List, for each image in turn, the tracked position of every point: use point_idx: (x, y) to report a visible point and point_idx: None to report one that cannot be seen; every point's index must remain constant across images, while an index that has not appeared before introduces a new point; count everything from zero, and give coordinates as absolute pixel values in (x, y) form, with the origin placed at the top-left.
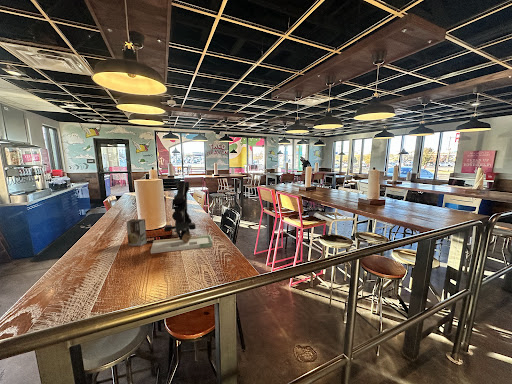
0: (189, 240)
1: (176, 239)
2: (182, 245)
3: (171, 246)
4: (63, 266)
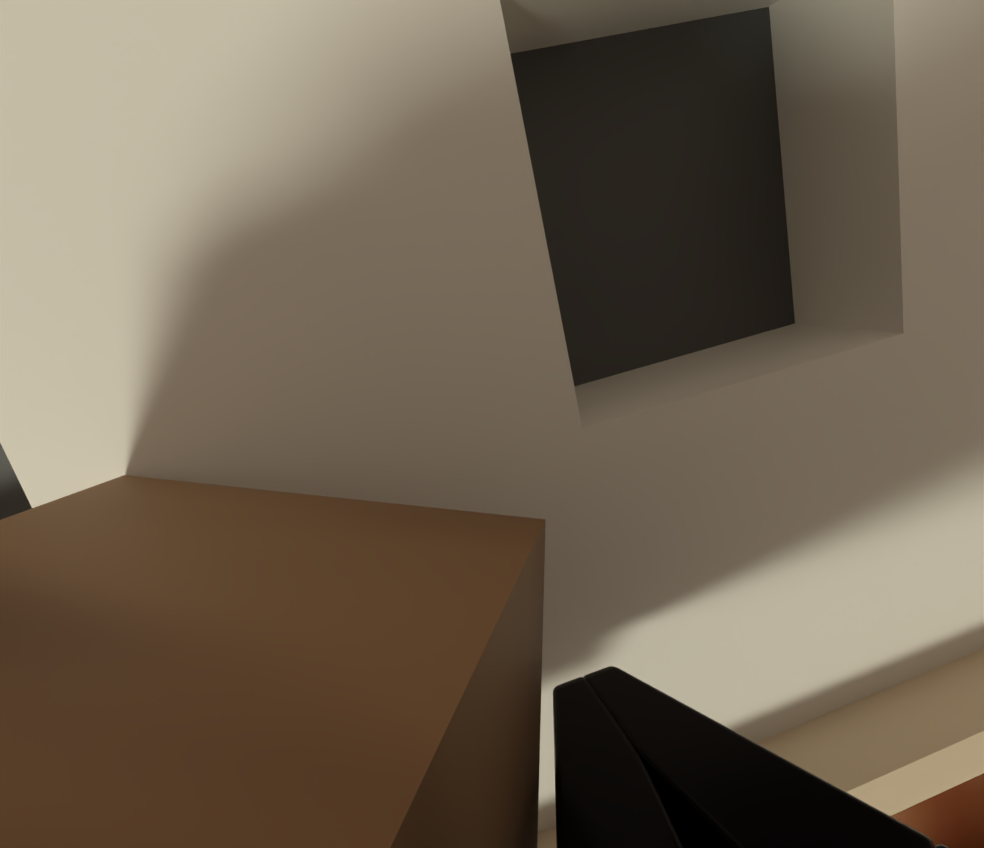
0: None
1: None
2: (317, 81)
3: (814, 326)
4: None
